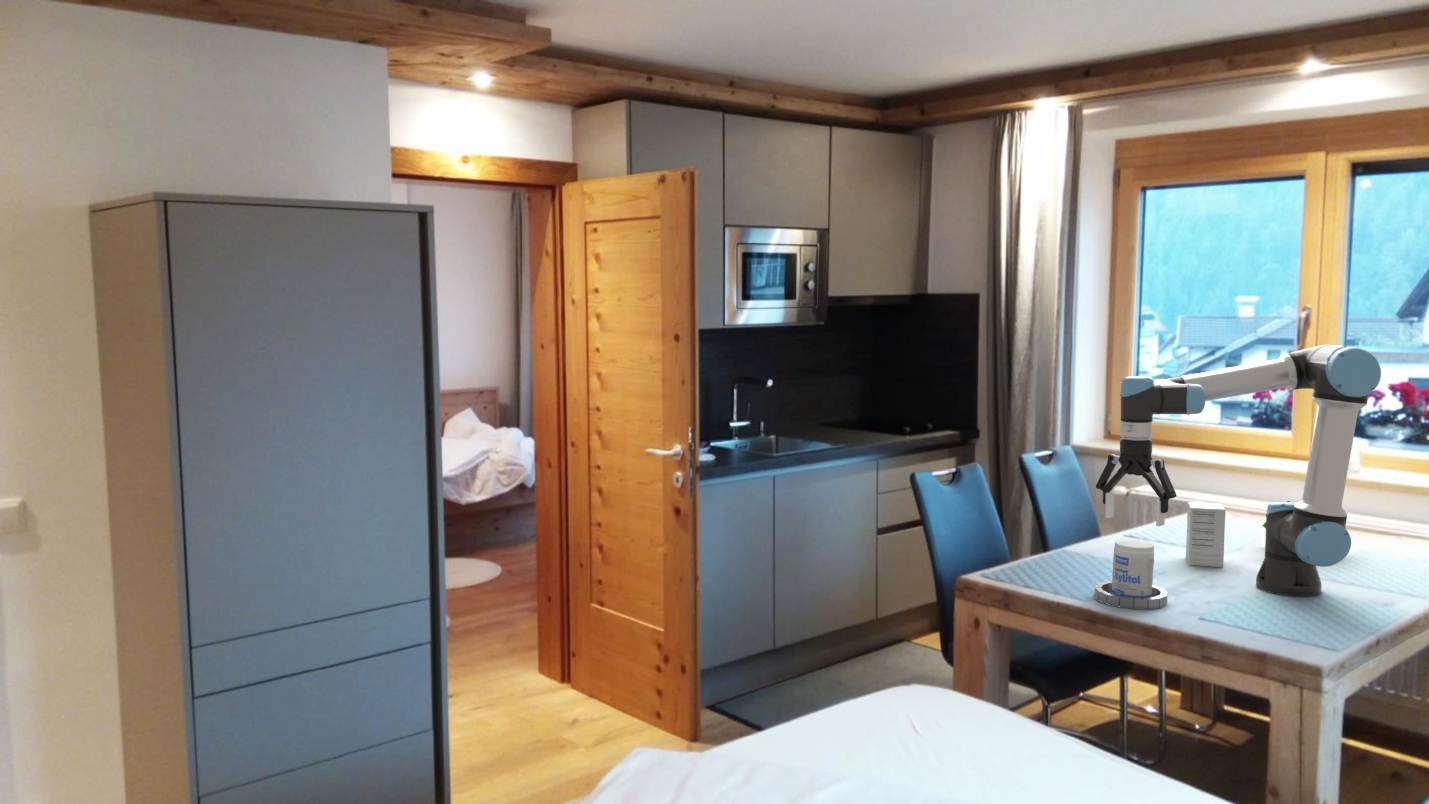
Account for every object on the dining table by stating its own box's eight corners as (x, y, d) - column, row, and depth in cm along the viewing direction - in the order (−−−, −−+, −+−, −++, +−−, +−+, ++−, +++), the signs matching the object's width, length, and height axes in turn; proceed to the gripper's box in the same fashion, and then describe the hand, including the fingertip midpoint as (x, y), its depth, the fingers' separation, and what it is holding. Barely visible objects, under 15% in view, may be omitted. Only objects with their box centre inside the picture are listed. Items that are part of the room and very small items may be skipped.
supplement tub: (1110, 602, 266) (1112, 545, 264) (1112, 592, 274) (1114, 537, 273) (1151, 607, 262) (1153, 549, 260) (1153, 596, 270) (1155, 540, 269)
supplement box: (1223, 568, 298) (1226, 509, 296) (1188, 565, 301) (1190, 507, 299) (1219, 560, 307) (1222, 503, 305) (1185, 557, 310) (1187, 501, 308)
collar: (1179, 600, 267) (1179, 590, 267) (1145, 613, 256) (1145, 603, 256) (1117, 586, 280) (1117, 577, 280) (1082, 598, 269) (1082, 588, 269)
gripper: (1082, 435, 271) (1081, 516, 273) (1177, 444, 252) (1175, 531, 254) (1098, 432, 276) (1097, 511, 278) (1192, 441, 257) (1190, 526, 259)
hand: (1134, 521), depth 266 cm, fingers open, 13 cm apart
